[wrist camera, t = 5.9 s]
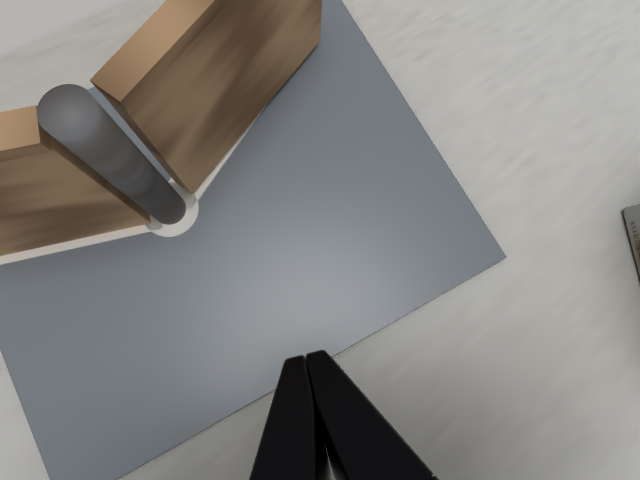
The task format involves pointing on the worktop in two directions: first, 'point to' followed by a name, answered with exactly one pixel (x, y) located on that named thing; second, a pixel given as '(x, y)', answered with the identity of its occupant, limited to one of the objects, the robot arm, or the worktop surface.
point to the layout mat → (239, 268)
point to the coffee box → (634, 230)
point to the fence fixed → (74, 174)
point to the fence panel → (205, 75)
